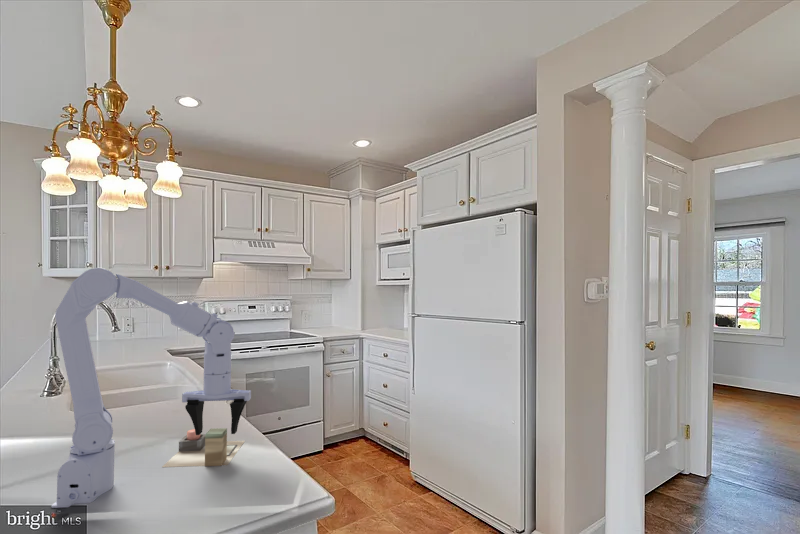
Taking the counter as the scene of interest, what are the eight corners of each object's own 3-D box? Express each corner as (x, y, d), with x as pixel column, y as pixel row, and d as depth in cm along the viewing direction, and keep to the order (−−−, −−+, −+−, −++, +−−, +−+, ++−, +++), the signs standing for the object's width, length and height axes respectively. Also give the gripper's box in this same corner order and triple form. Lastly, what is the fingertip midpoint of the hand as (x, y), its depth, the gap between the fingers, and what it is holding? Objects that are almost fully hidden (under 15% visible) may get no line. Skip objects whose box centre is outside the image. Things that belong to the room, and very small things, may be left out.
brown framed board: (230, 470, 96) (230, 456, 96) (153, 473, 94) (154, 459, 94) (250, 441, 114) (250, 429, 114) (186, 442, 112) (186, 431, 112)
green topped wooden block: (221, 465, 97) (222, 433, 97) (204, 466, 96) (205, 434, 97) (226, 459, 100) (227, 428, 100) (210, 459, 100) (210, 428, 100)
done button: (197, 443, 106) (197, 432, 106) (184, 444, 106) (185, 433, 106) (202, 439, 109) (202, 428, 109) (189, 439, 109) (189, 429, 109)
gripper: (254, 368, 104) (253, 426, 103) (191, 369, 102) (190, 428, 102) (246, 374, 97) (246, 436, 96) (178, 375, 95) (177, 439, 95)
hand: (216, 433), depth 99 cm, fingers open, 7 cm apart
